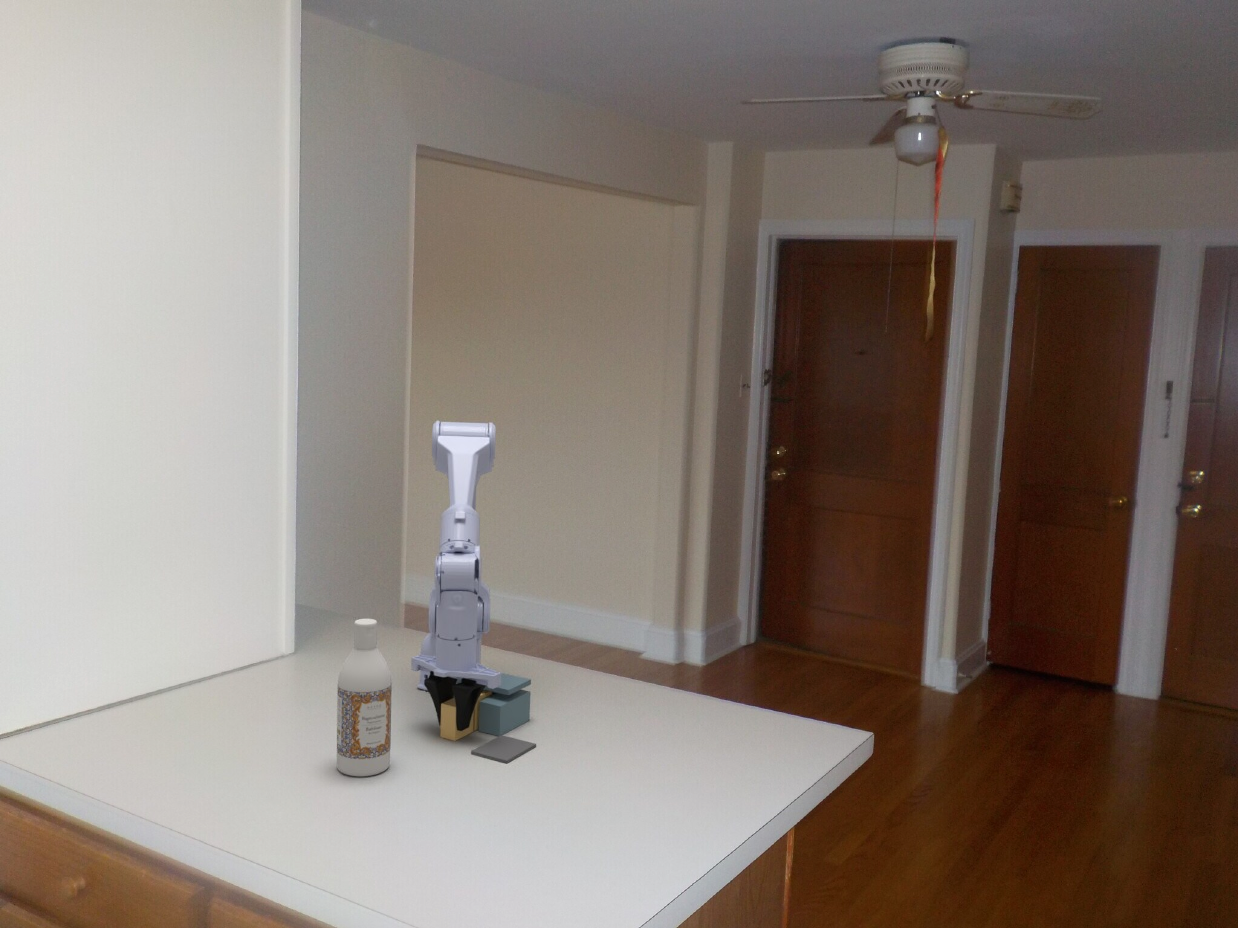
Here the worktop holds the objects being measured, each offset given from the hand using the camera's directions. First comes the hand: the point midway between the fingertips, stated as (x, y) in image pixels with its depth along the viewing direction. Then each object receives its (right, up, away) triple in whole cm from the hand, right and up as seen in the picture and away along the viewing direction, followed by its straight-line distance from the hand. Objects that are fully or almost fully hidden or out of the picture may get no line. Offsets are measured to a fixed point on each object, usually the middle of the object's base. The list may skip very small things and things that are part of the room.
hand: (454, 726), depth 158 cm
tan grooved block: (+1, -1, +3) cm, 3 cm away
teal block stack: (+4, -1, +7) cm, 8 cm away
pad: (+8, -2, -4) cm, 9 cm away
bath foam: (-10, -3, -12) cm, 16 cm away
